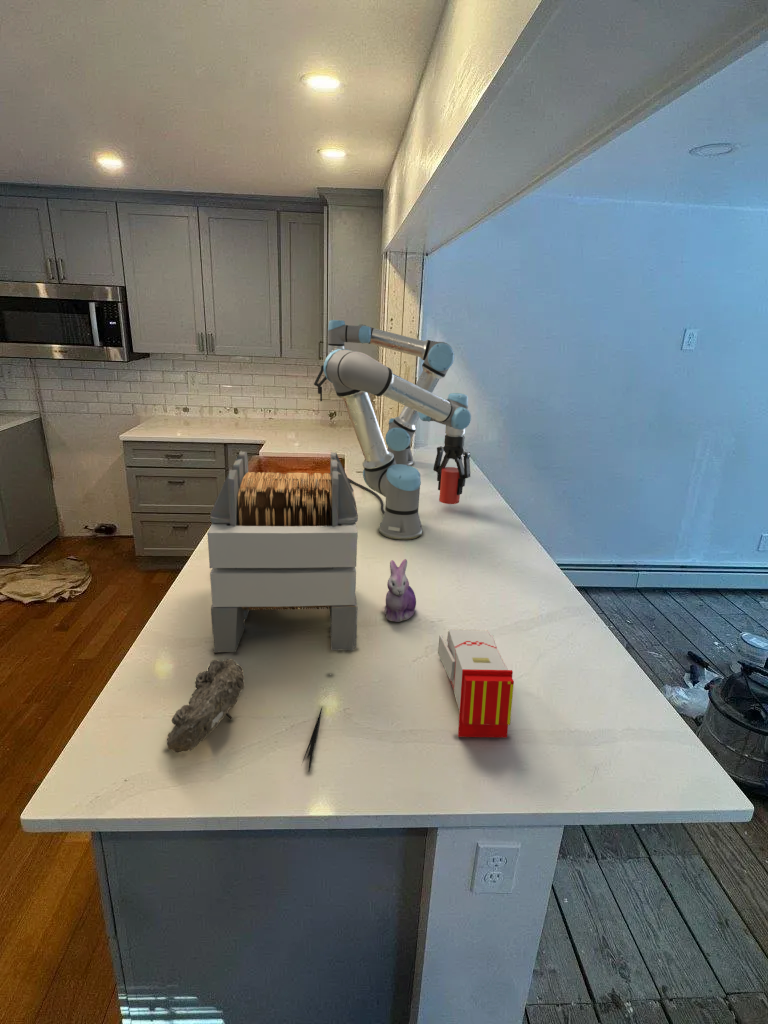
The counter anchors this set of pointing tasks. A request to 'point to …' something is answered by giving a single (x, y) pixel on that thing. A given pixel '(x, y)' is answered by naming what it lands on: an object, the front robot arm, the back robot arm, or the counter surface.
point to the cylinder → (449, 485)
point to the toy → (478, 682)
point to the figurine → (399, 594)
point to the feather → (313, 740)
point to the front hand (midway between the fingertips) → (449, 491)
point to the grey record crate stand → (283, 549)
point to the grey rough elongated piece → (206, 705)
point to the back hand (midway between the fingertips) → (335, 401)
